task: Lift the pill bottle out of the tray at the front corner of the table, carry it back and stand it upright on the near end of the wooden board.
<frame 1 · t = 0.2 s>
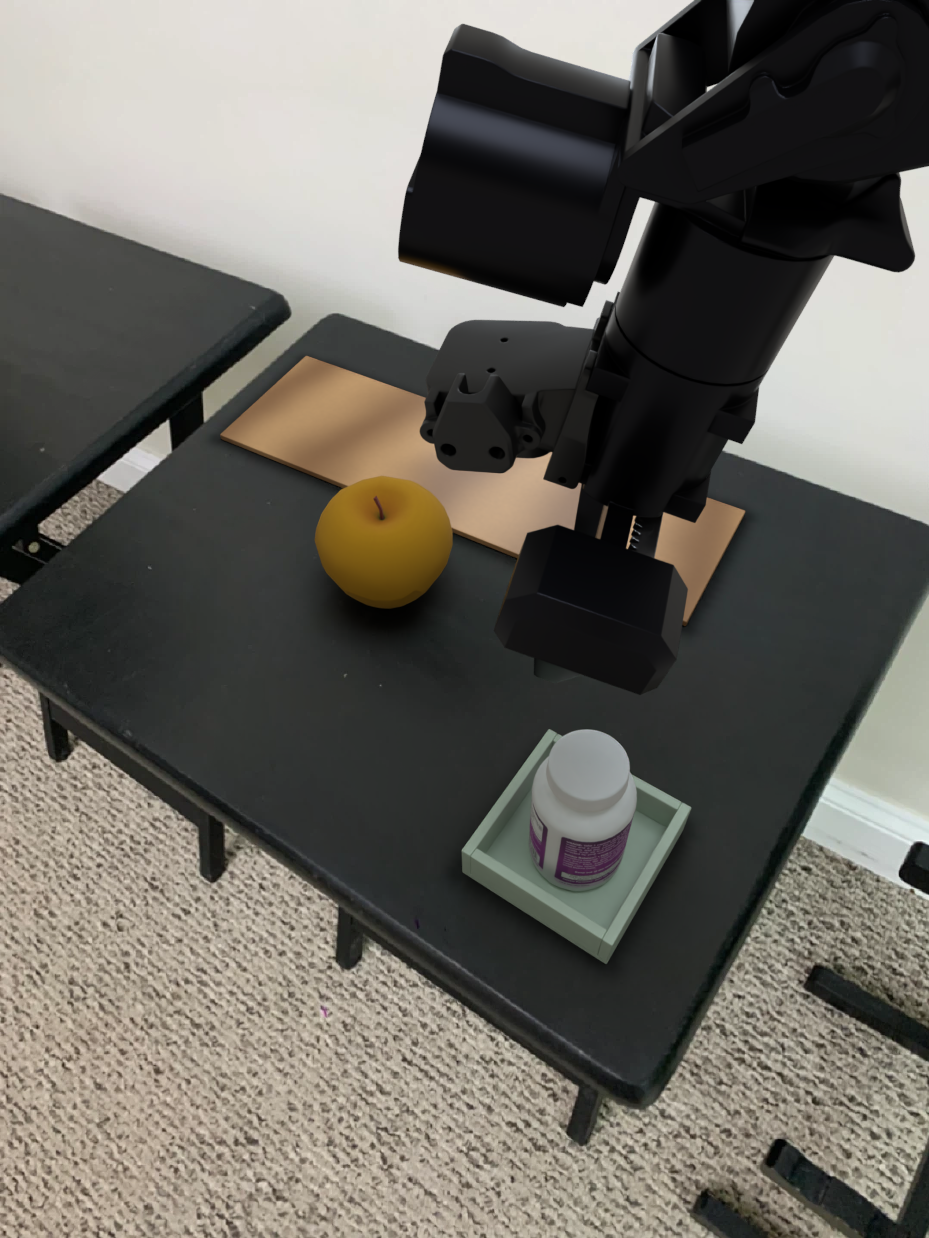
hand: (565, 601, 44), 16 cm above the table, tool pointing down, fingers open, 9 cm apart
pill bottle: (574, 849, 52), resting on tray
wooden board: (471, 475, 72), on the table
apple: (391, 590, 65), on the table
tray: (574, 850, 53), on the table
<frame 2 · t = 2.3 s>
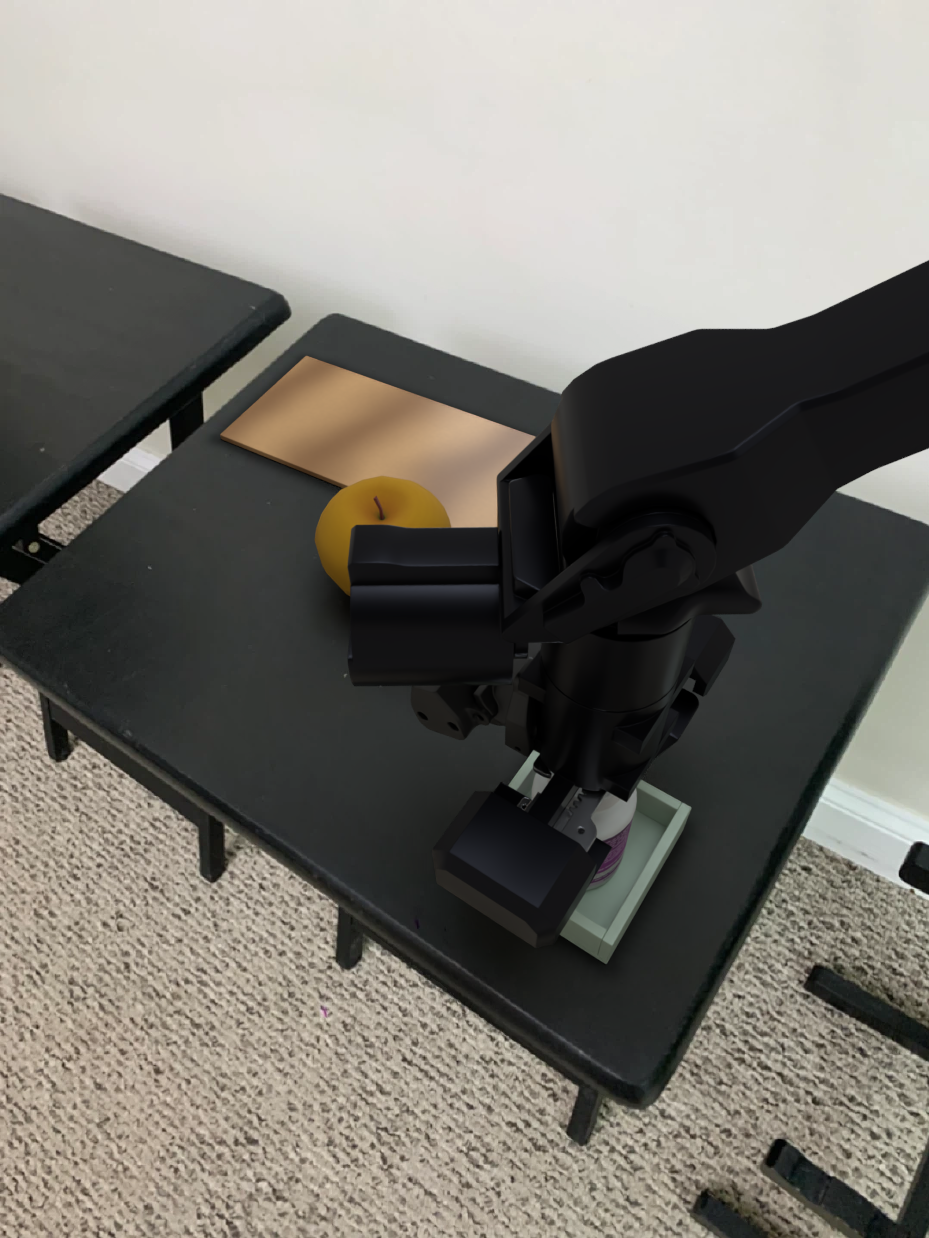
hand: (579, 823, 50), 3 cm above the table, tool pointing down, fingers closed on pill bottle, 5 cm apart
pill bottle: (574, 849, 52), resting on tray, touching gripper
everything else where it was.
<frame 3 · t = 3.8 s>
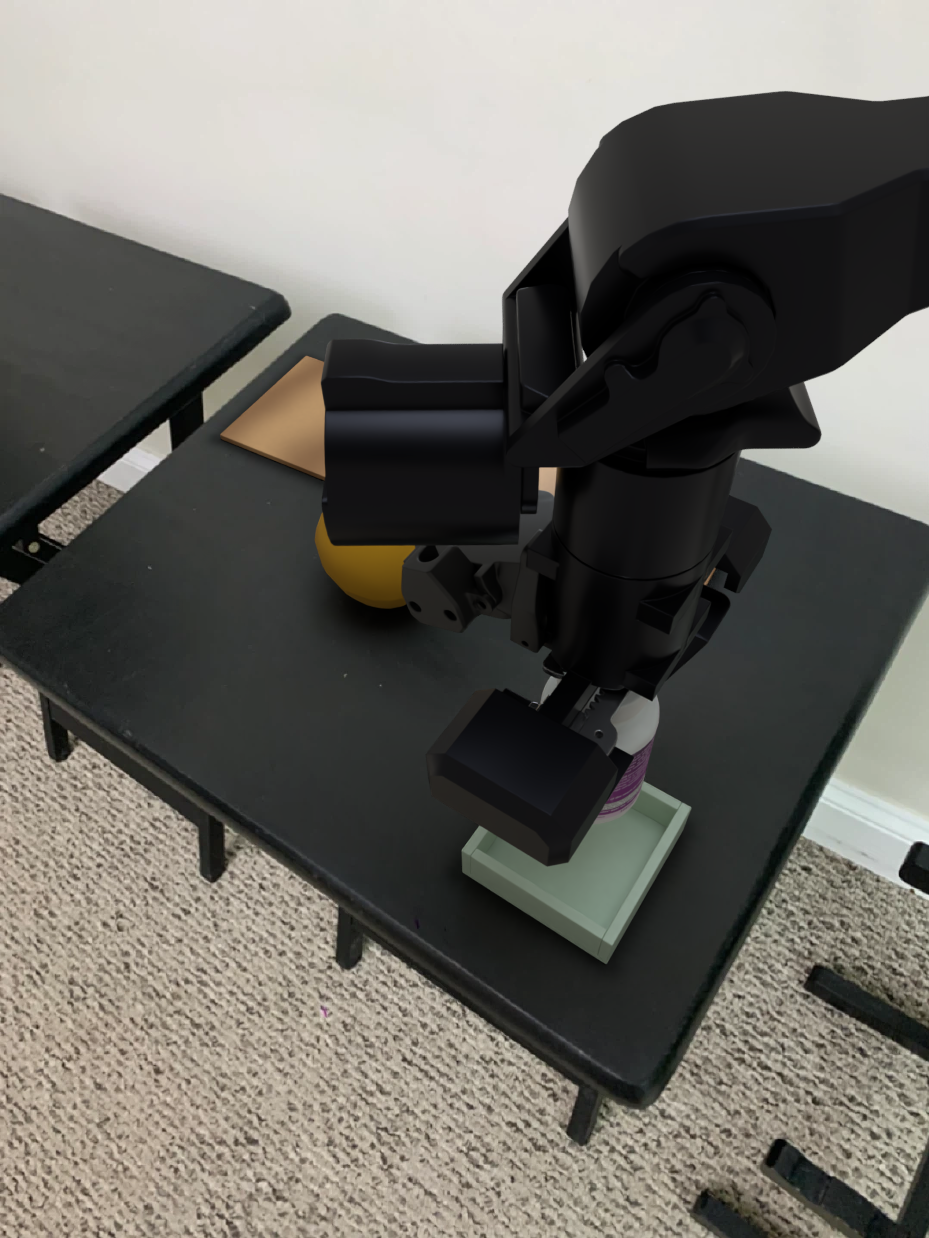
hand: (593, 747, 44), 11 cm above the table, tool pointing down, fingers closed on pill bottle, 5 cm apart
pill bottle: (586, 780, 47), point 8 cm above the table, touching gripper
everything else where it was.
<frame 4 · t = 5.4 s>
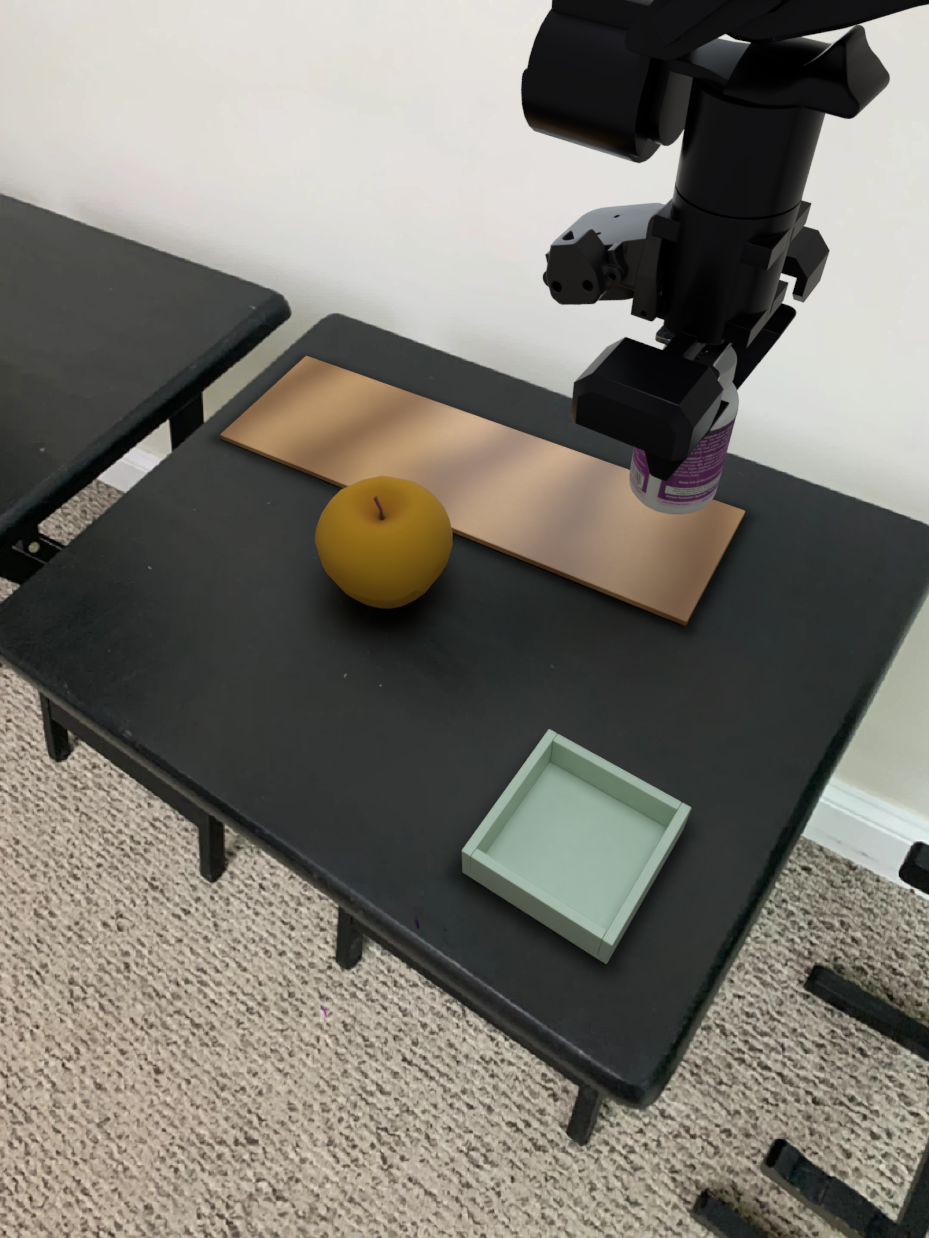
hand: (680, 449, 54), 13 cm above the table, tool pointing down, fingers closed on pill bottle, 5 cm apart
pill bottle: (670, 489, 57), point 10 cm above the table, touching gripper
everything else where it was.
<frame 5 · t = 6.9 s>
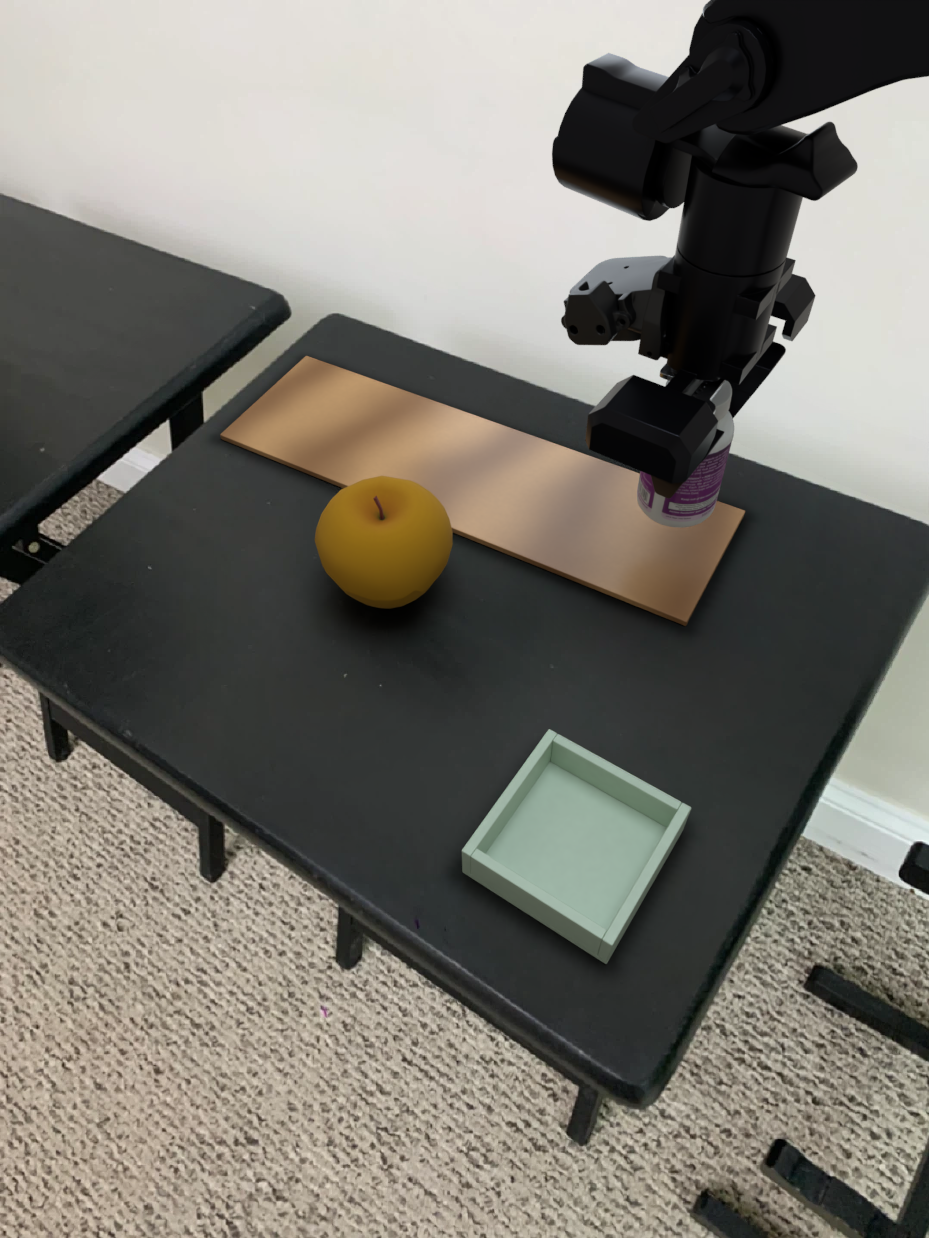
hand: (682, 469, 61), 8 cm above the table, tool pointing down, fingers closed on pill bottle, 5 cm apart
pill bottle: (674, 504, 63), point 5 cm above the table, touching gripper
everything else where it was.
when the fingers open (4 cm above the table, at t = 8.3 s): pill bottle stays where it is, resting on wooden board.
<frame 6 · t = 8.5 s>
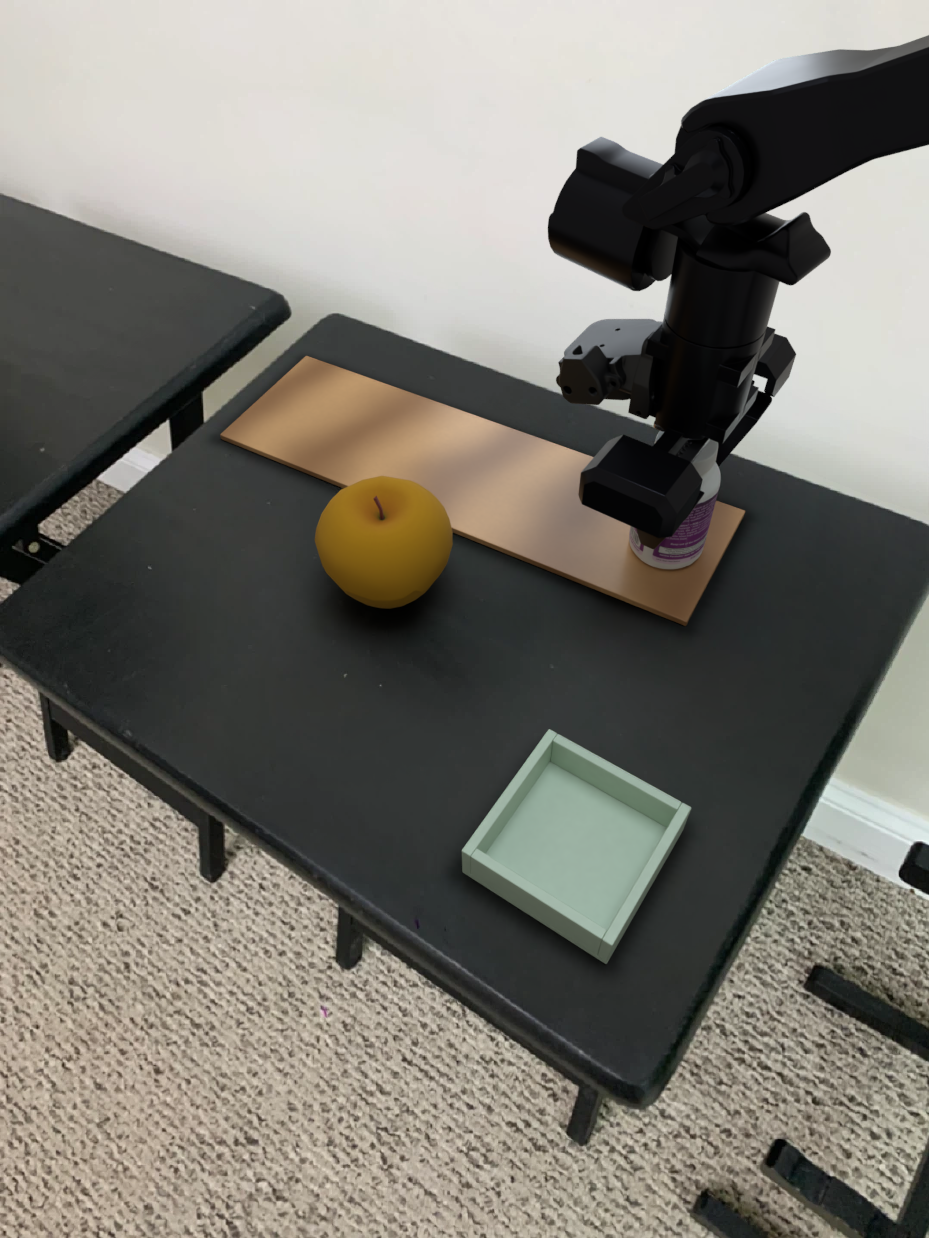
hand: (671, 515, 64), 3 cm above the table, tool pointing down, fingers open, 6 cm apart
pill bottle: (664, 546, 67), resting on wooden board
everything else where it was.
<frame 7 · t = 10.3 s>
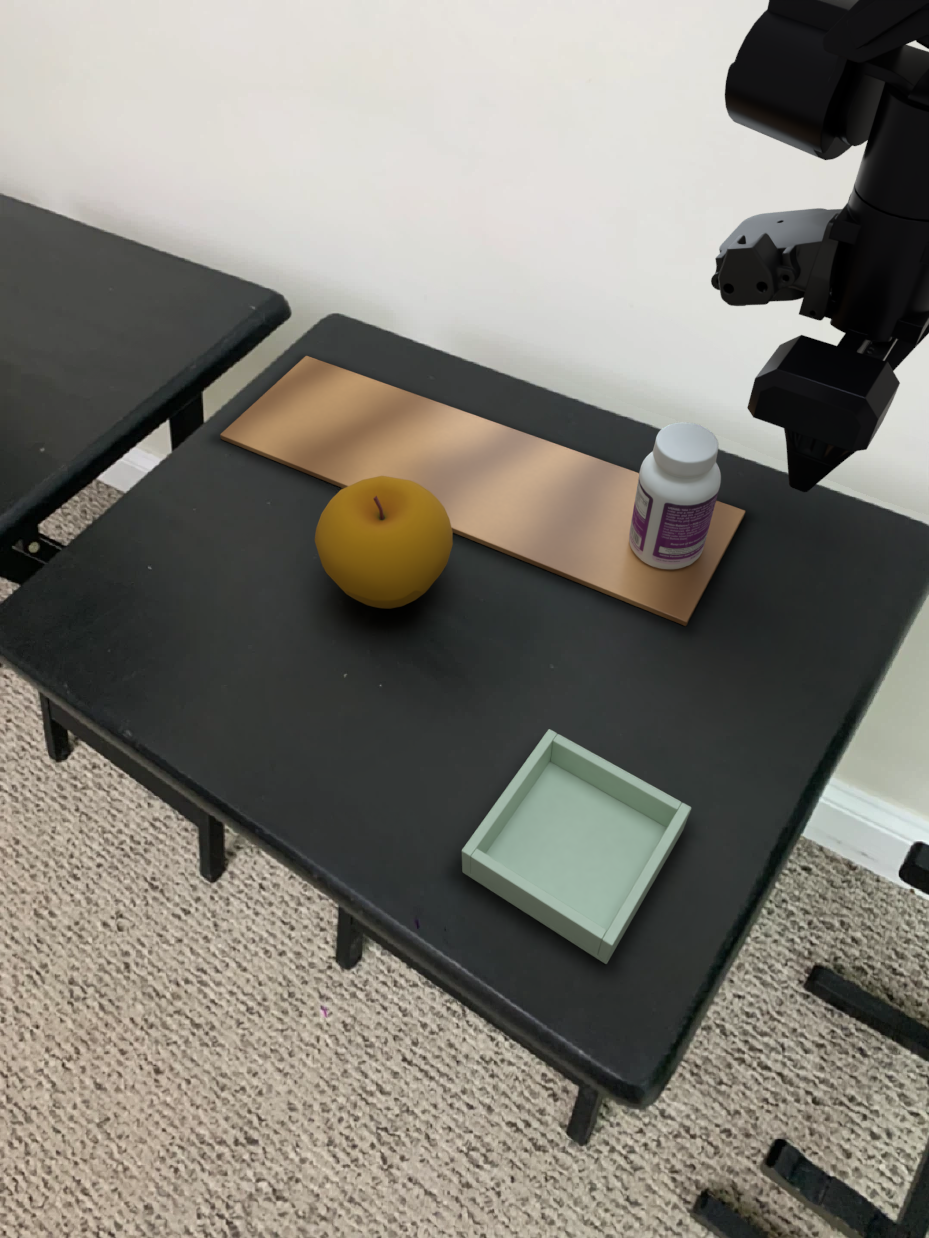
hand: (825, 444, 56), 12 cm above the table, tool pointing down, fingers open, 9 cm apart
nothing on the table moved.
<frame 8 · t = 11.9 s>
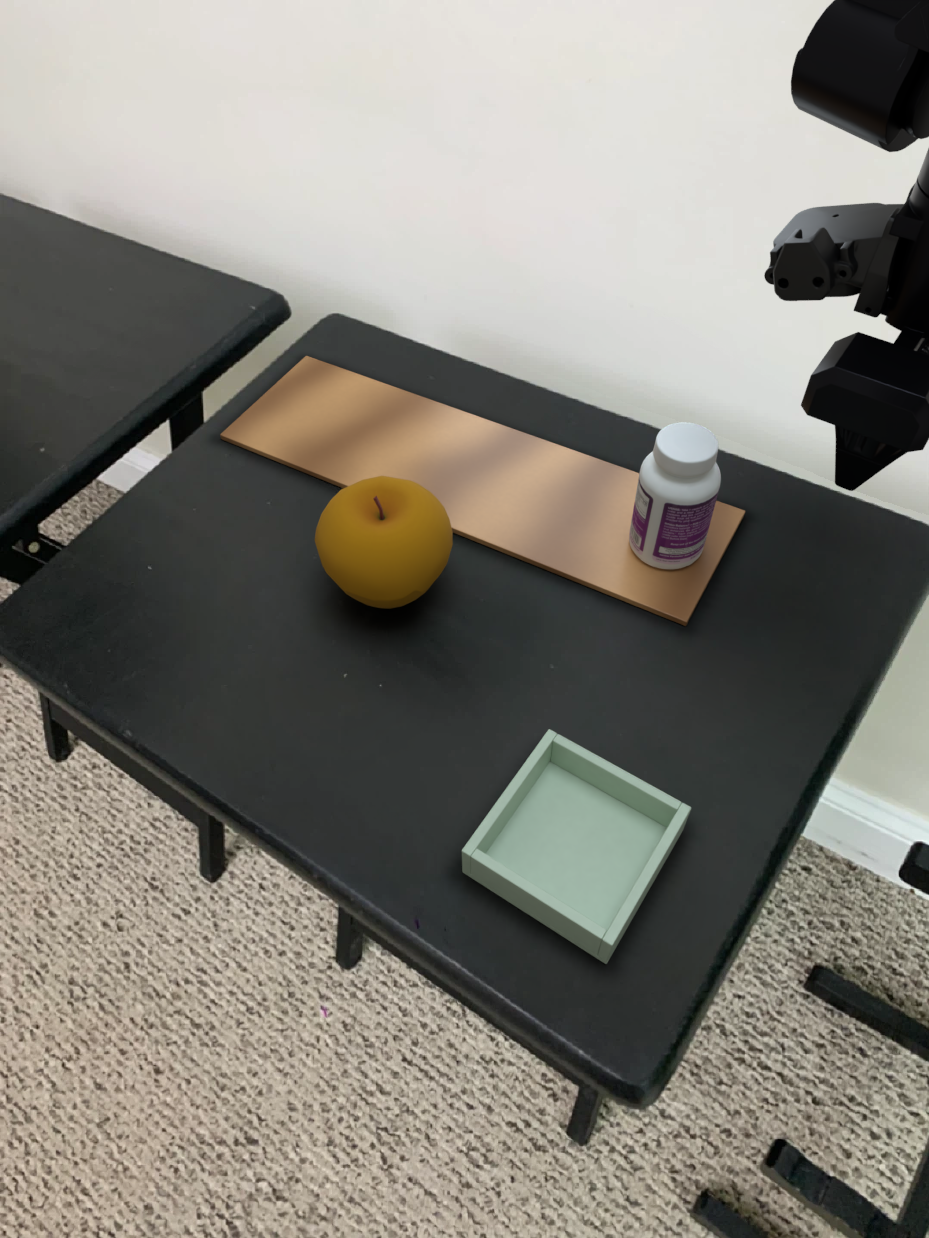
hand: (871, 442, 56), 12 cm above the table, tool pointing down, fingers open, 9 cm apart
nothing on the table moved.
at the end: pill bottle 0.2 cm from the target spot on the wooden board, point 0.3 cm above the wooden board's base; pill bottle tilted 0°; pill bottle touching wooden board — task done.
